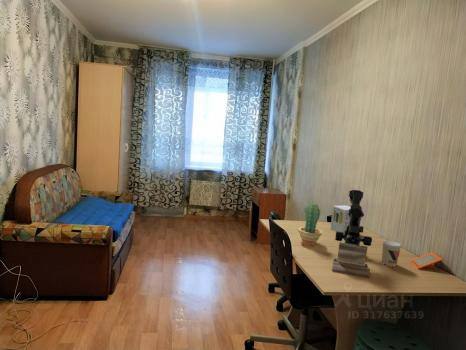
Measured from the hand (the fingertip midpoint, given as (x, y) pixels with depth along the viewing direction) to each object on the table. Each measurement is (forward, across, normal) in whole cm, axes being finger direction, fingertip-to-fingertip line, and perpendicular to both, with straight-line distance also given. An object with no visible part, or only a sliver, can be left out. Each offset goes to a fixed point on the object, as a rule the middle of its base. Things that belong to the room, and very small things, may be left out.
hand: (352, 252), depth 194 cm
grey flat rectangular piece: (+2, 0, 0) cm, 2 cm away
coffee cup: (-6, +21, +18) cm, 28 cm away
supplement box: (-47, -4, +59) cm, 75 cm away
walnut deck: (+8, 0, +3) cm, 9 cm away
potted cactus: (-16, -25, +28) cm, 41 cm away
